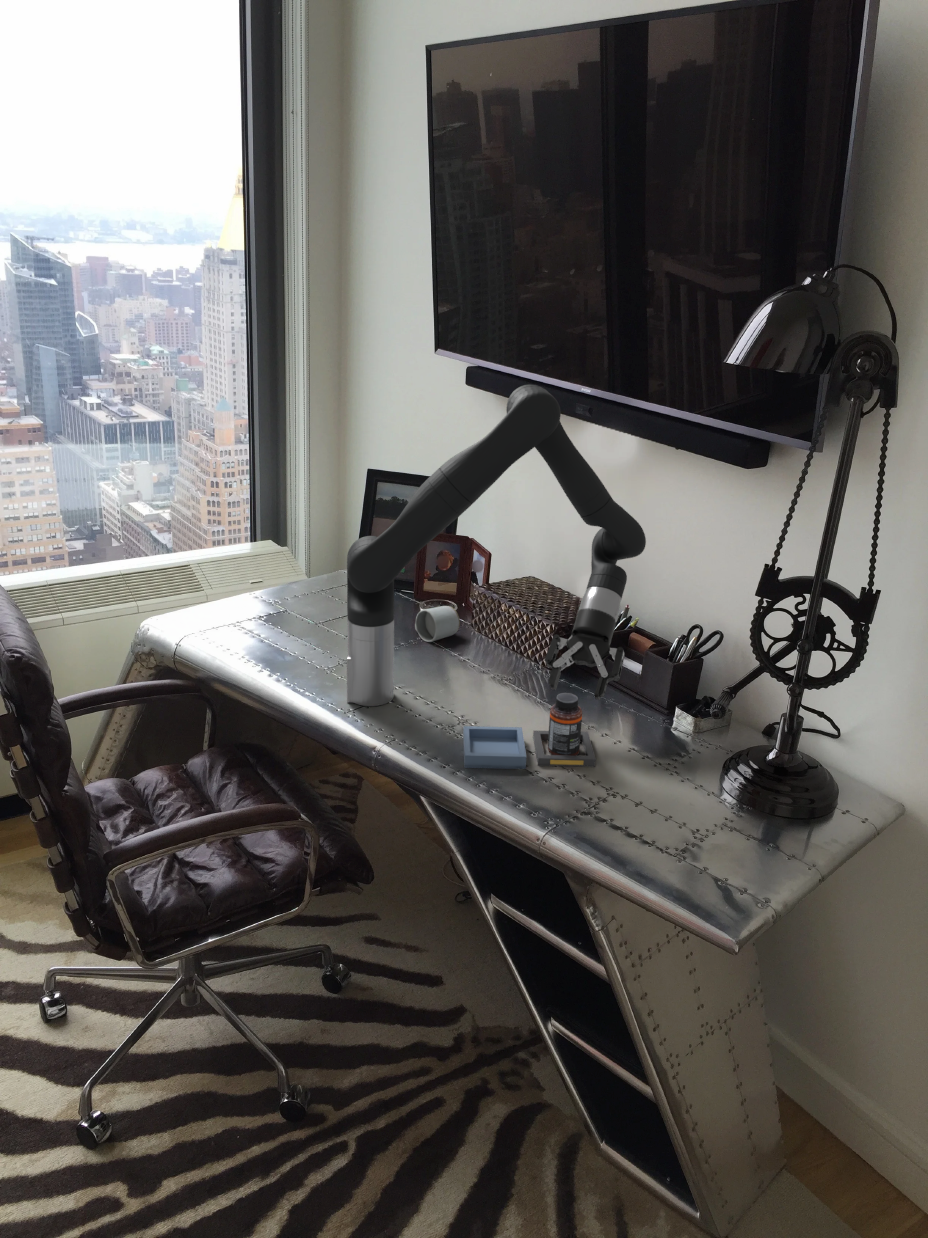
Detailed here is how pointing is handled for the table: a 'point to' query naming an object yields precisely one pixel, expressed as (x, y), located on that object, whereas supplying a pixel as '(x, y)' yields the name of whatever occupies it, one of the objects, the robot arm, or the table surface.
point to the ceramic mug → (437, 623)
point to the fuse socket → (563, 759)
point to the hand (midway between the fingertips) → (574, 693)
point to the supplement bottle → (565, 726)
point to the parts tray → (494, 747)
